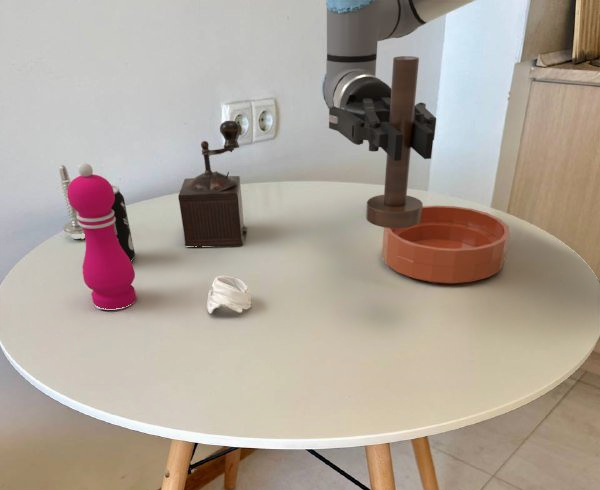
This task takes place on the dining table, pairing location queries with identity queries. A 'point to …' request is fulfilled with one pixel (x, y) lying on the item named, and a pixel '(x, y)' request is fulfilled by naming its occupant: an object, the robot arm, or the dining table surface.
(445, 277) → the bowl
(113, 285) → the pepper mill
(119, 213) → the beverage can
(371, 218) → the brown peg stand
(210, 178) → the manual coffee grinder
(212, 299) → the white turban
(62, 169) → the screw
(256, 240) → the dining table surface
